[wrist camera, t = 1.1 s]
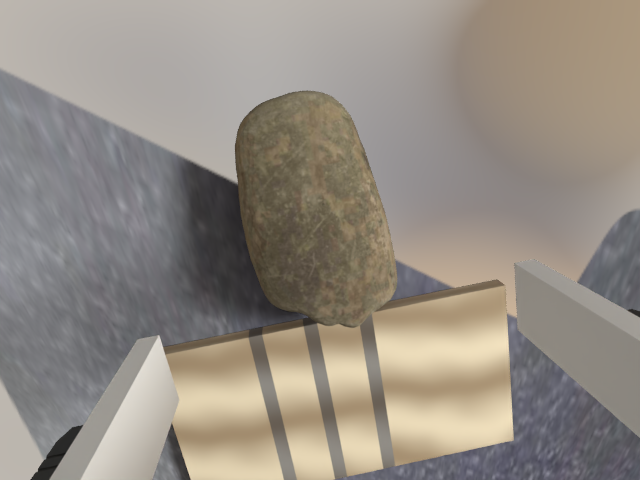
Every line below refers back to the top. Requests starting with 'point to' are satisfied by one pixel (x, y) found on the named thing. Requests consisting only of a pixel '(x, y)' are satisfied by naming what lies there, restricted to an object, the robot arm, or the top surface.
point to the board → (347, 390)
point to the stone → (313, 210)
